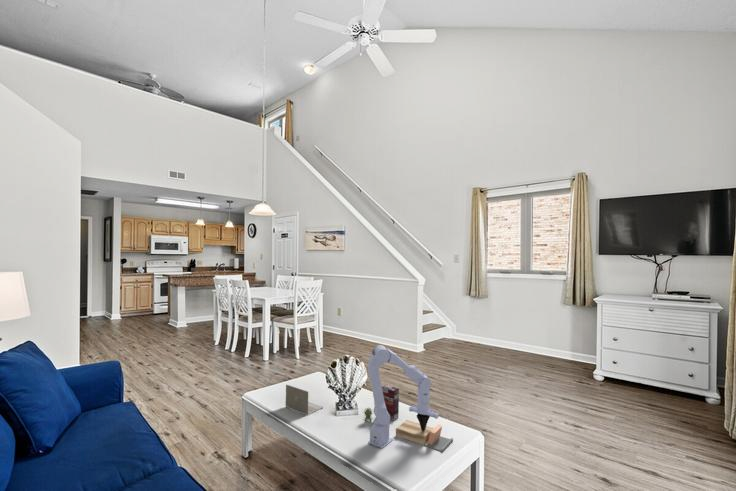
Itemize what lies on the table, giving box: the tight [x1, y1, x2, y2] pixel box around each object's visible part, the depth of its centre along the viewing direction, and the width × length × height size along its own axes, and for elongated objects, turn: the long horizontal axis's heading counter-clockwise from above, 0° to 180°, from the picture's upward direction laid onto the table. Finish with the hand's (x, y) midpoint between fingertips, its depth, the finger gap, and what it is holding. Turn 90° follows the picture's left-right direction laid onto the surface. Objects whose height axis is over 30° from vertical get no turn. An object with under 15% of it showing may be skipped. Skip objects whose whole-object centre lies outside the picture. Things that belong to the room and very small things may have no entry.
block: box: [428, 424, 443, 446], centre depth 173 cm, size 9×6×2 cm
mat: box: [423, 435, 454, 453], centre depth 172 cm, size 12×9×1 cm
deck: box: [395, 419, 435, 446], centre depth 179 cm, size 11×15×4 cm
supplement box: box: [382, 384, 400, 421], centre depth 199 cm, size 9×5×16 cm, turn 50°
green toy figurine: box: [363, 407, 374, 424], centre depth 192 cm, size 12×12×8 cm
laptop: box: [285, 384, 324, 416], centre depth 210 cm, size 18×12×13 cm
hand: (423, 429), depth 176 cm, fingers closed
